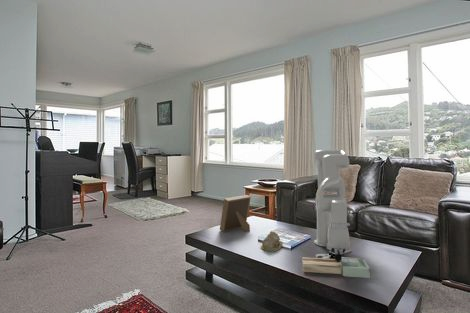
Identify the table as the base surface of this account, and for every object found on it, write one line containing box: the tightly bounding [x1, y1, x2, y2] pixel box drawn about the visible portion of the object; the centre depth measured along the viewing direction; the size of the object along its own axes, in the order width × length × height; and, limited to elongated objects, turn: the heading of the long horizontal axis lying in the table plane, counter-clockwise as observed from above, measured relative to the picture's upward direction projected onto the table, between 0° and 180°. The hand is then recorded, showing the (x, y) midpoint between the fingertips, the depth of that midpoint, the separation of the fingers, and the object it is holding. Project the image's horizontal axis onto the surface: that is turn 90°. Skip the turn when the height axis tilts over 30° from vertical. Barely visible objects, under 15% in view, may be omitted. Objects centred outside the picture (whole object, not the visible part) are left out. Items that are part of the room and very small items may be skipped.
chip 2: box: [349, 259, 359, 267], centre depth 137 cm, size 4×4×3 cm
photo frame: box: [219, 194, 252, 233], centre depth 204 cm, size 15×22×25 cm
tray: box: [339, 256, 371, 279], centre depth 138 cm, size 12×12×4 cm
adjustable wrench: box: [315, 249, 352, 259], centre depth 157 cm, size 25×6×2 cm, turn 112°
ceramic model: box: [260, 231, 284, 252], centre depth 170 cm, size 14×11×10 cm
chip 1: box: [341, 259, 351, 268], centre depth 138 cm, size 4×4×3 cm
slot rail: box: [301, 256, 342, 275], centre depth 140 cm, size 8×18×4 cm, turn 80°
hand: (338, 261), depth 139 cm, fingers closed
